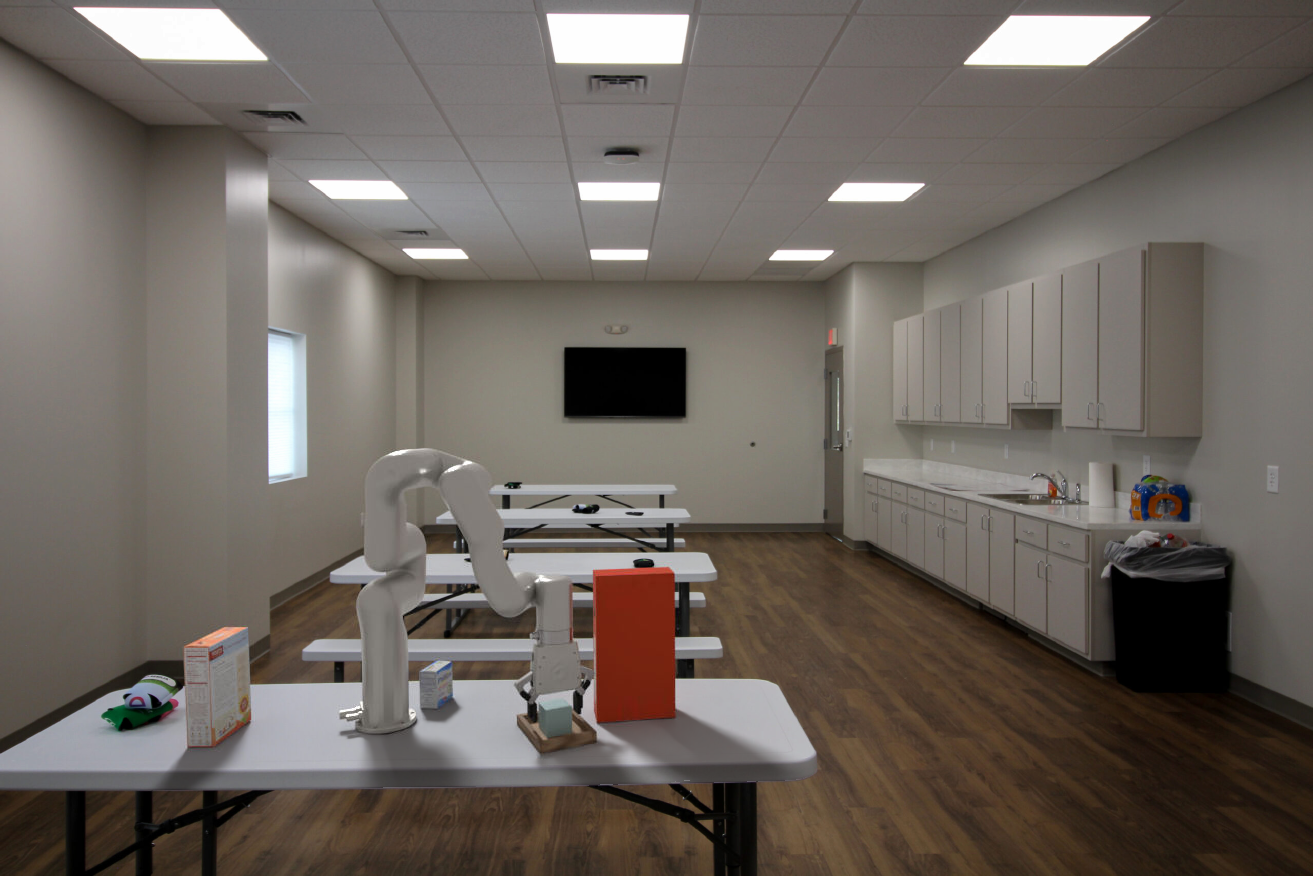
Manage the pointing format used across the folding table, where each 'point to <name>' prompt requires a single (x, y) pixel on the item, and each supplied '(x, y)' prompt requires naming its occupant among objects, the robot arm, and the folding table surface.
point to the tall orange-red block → (634, 643)
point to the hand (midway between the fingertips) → (555, 716)
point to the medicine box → (436, 684)
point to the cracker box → (217, 686)
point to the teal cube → (555, 717)
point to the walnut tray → (578, 737)
